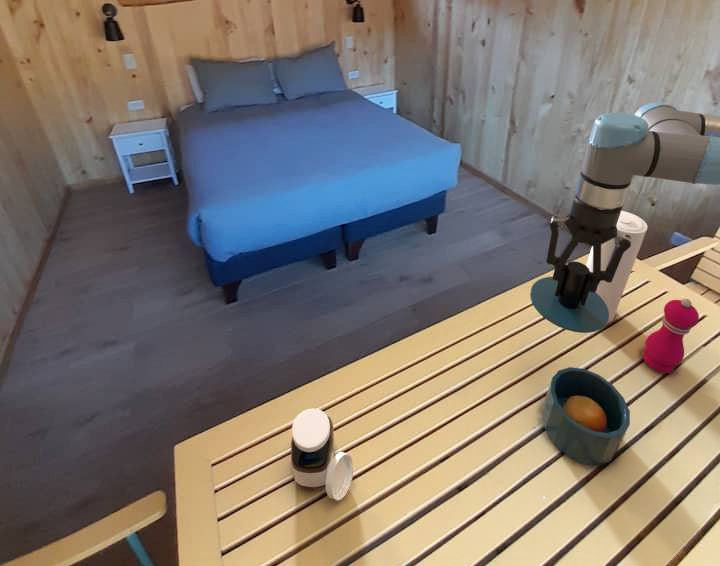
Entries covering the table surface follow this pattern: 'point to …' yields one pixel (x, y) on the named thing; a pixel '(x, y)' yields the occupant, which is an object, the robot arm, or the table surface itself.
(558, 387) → the pot
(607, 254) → the cylinder container
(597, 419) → the fruit
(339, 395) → the table surface
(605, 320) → the lid
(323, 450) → the spread jar
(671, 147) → the robot arm
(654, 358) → the pepper mill
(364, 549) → the table surface
